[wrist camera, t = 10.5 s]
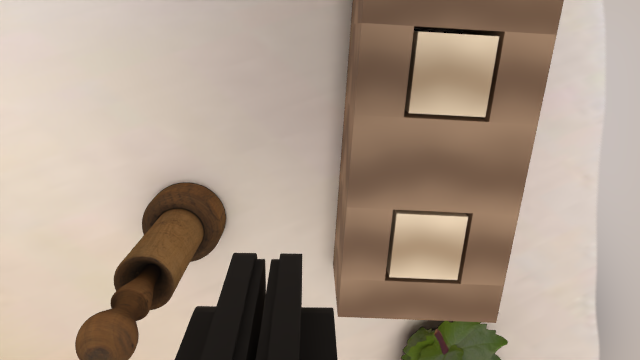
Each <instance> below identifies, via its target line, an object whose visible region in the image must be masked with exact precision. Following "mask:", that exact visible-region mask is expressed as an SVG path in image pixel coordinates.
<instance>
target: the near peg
mask: <svg viewBox="0 0 640 360" xmlns="http://www.w3.org/2000/svg"><path fill="white" fill-rule="evenodd" d="M498 41H499V36H484V35H467V34H450V33H434V32H416V31H414V33H413V41H412V50H411V59H410V67H409V76H408V85H407V93H406V102H405V110H406V111H407V112H408V113H416V114H435V115H453V116H472V117H485V116H486V110H487V105H488V99H489V93H490V87H491V81H492V76H493V70H494V64H495V58H496V52H497V47H498Z"/></svg>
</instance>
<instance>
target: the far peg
mask: <svg viewBox="0 0 640 360" xmlns="http://www.w3.org/2000/svg"><path fill="white" fill-rule="evenodd" d="M467 221H468V216H467V215H466V214H465V213H457V212H436V211H415V210H393V214H392V223H391V232H390V240H389V249H388V257H387V266H386V268H387V272H388V275H389V277H396V278H420V279H444V280H457V279H458V273H459V267H460V261H461V255H462V250H463V244H464V238H465V232H466V226H467Z"/></svg>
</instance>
